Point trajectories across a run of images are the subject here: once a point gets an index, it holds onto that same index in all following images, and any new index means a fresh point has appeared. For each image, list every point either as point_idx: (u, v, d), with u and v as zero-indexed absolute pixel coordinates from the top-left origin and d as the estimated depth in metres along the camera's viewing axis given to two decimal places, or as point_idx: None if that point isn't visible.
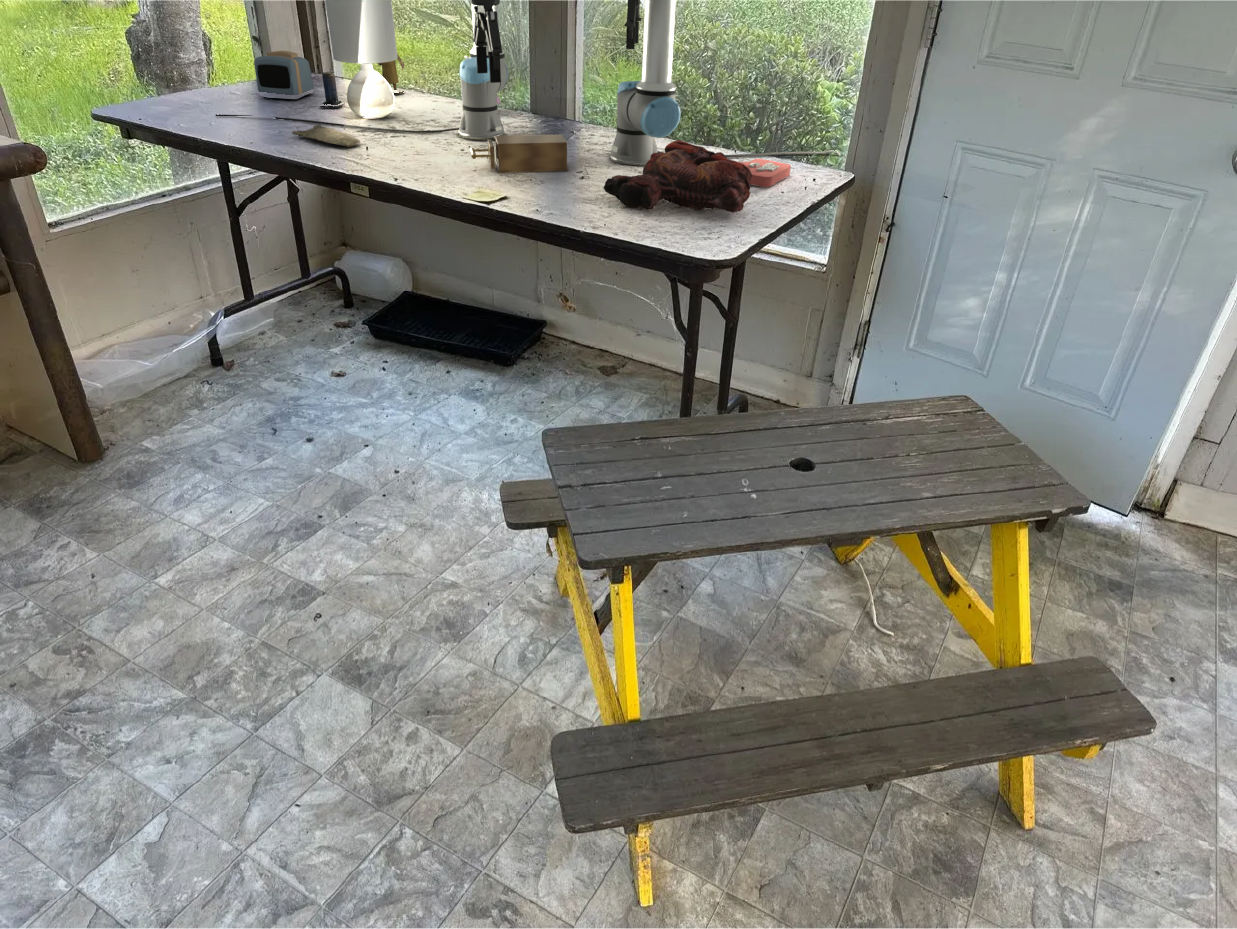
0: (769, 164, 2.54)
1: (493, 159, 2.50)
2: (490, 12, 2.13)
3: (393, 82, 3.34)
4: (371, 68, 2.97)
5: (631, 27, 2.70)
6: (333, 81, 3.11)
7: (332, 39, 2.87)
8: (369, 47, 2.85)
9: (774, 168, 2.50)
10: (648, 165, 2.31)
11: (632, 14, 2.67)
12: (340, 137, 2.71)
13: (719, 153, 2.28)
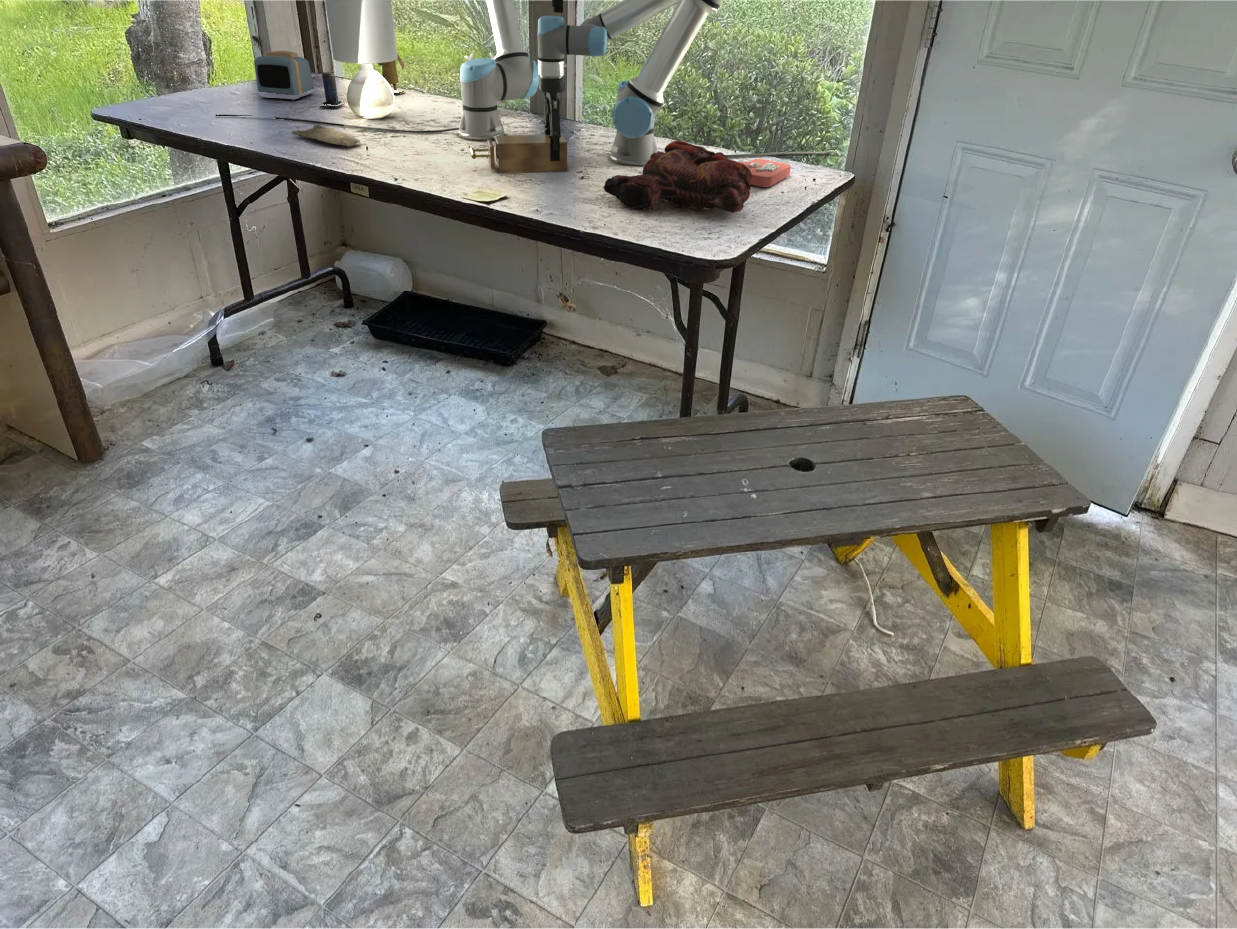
0: (769, 164, 2.54)
1: (493, 159, 2.50)
2: None
3: (393, 82, 3.34)
4: (371, 68, 2.97)
5: None
6: (333, 81, 3.11)
7: (332, 39, 2.87)
8: (369, 47, 2.85)
9: (774, 168, 2.50)
10: (648, 165, 2.31)
11: None
12: (340, 137, 2.71)
13: (719, 153, 2.28)
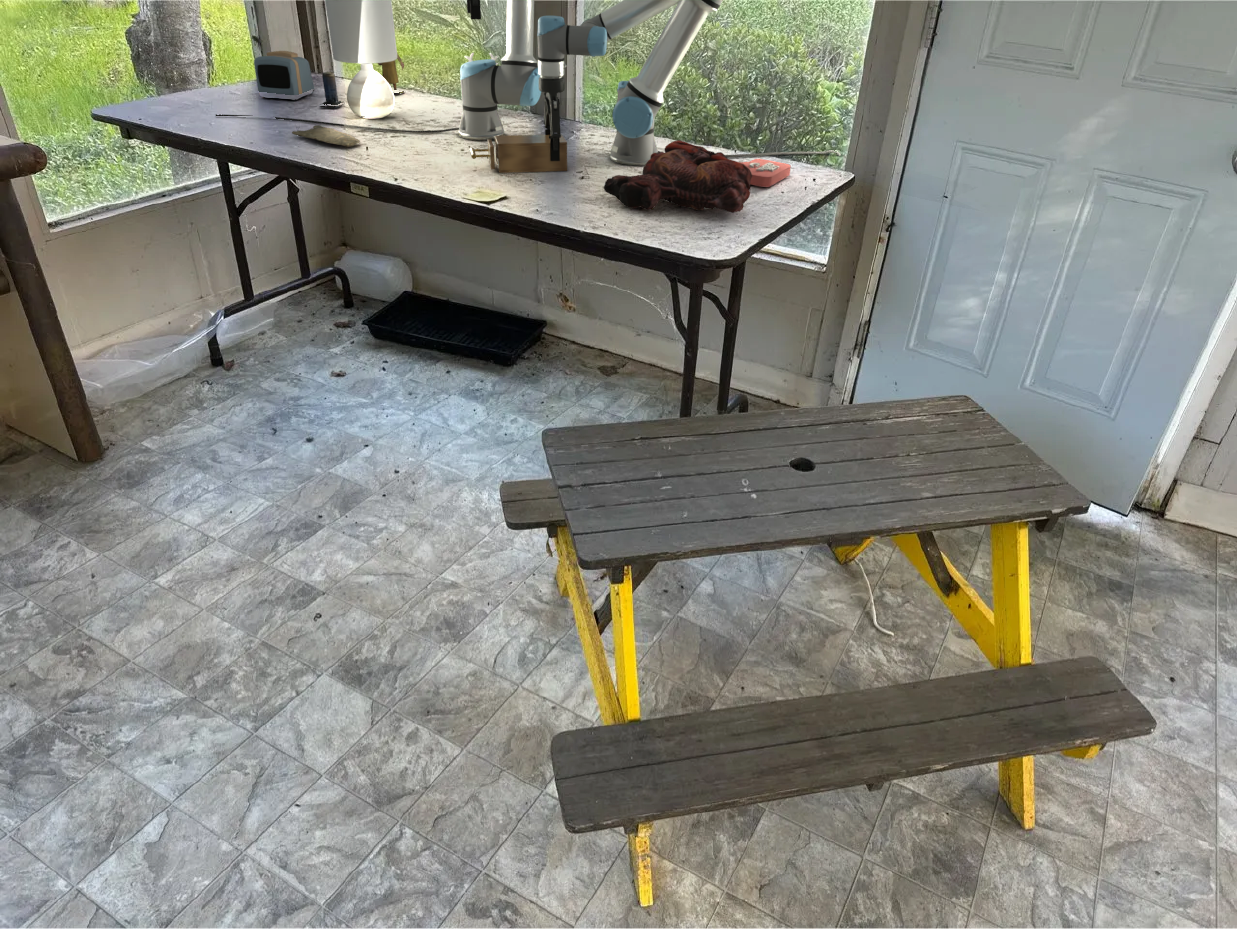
0: (769, 164, 2.54)
1: (493, 159, 2.50)
2: None
3: (393, 82, 3.34)
4: (371, 68, 2.97)
5: None
6: (333, 81, 3.11)
7: (332, 39, 2.87)
8: (369, 47, 2.85)
9: (774, 168, 2.50)
10: (648, 165, 2.31)
11: None
12: (340, 137, 2.71)
13: (719, 153, 2.28)
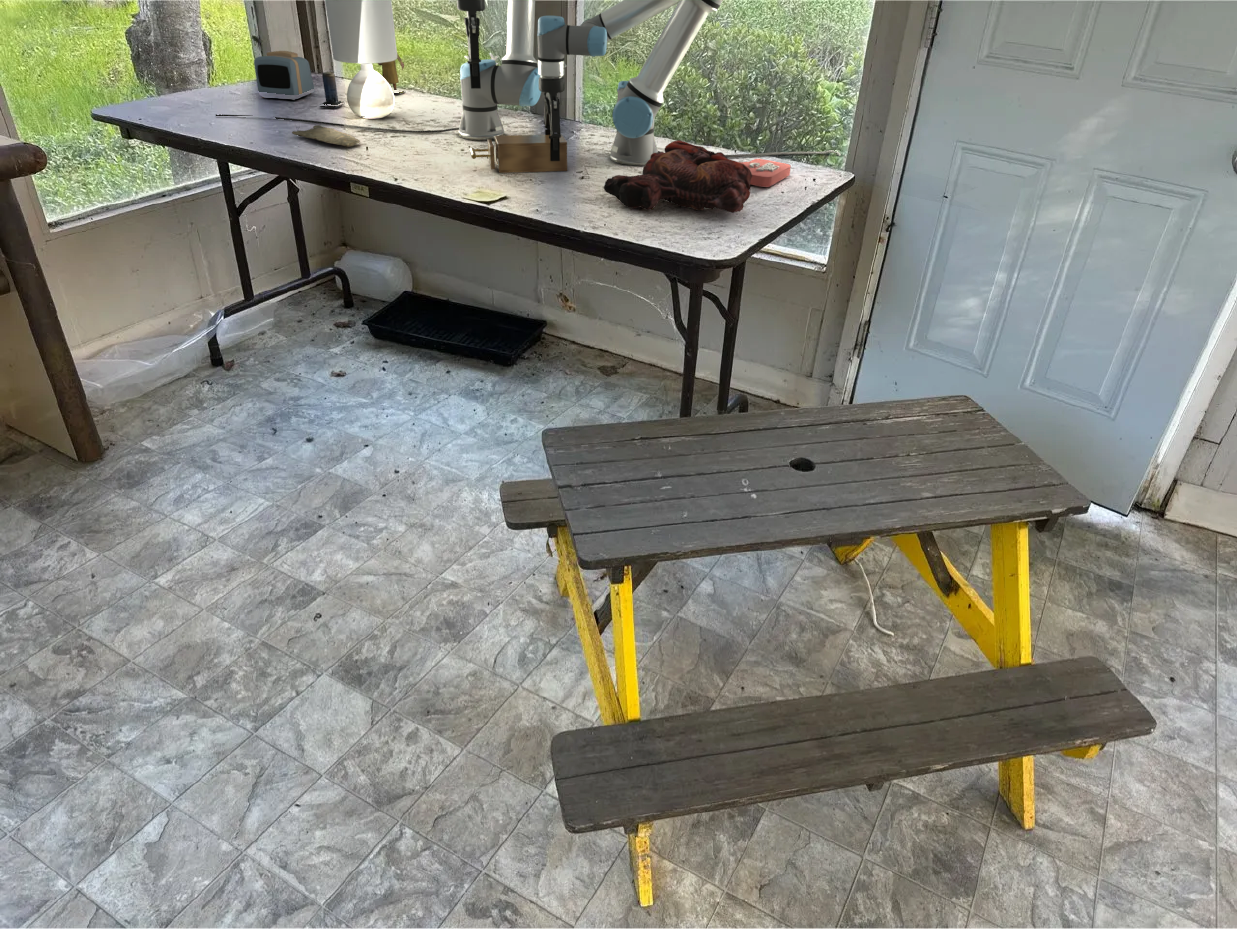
0: (769, 164, 2.54)
1: (493, 159, 2.50)
2: None
3: (393, 82, 3.34)
4: (371, 68, 2.97)
5: (476, 64, 2.37)
6: (333, 81, 3.11)
7: (332, 39, 2.87)
8: (369, 47, 2.85)
9: (774, 168, 2.50)
10: (648, 165, 2.31)
11: (476, 51, 2.33)
12: (340, 137, 2.71)
13: (719, 153, 2.28)
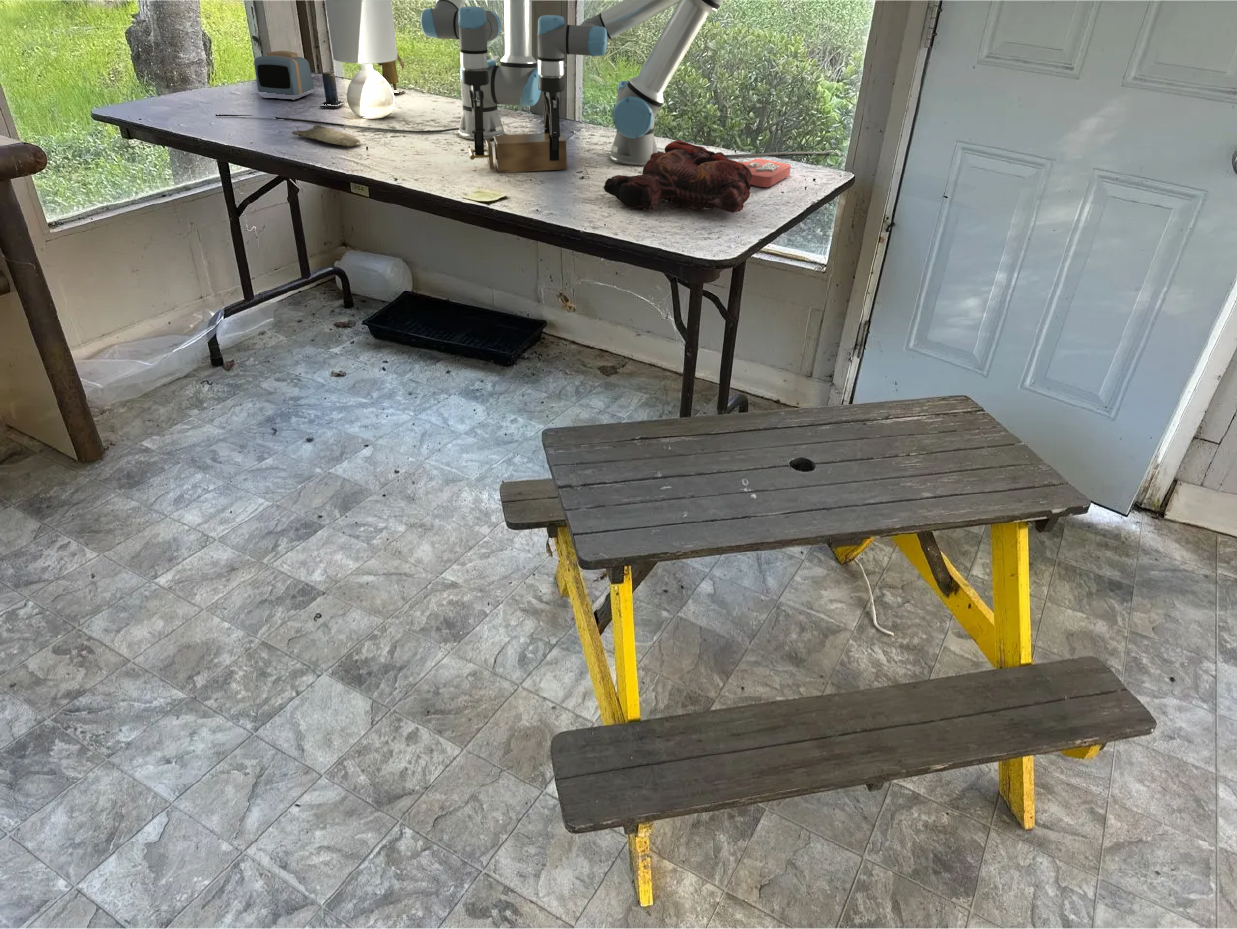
0: (769, 164, 2.54)
1: (492, 159, 2.50)
2: None
3: (393, 82, 3.34)
4: (371, 68, 2.97)
5: (480, 134, 2.47)
6: (333, 81, 3.11)
7: (332, 39, 2.87)
8: (369, 47, 2.85)
9: (774, 168, 2.50)
10: (648, 165, 2.31)
11: (480, 122, 2.44)
12: (340, 137, 2.71)
13: (719, 153, 2.28)
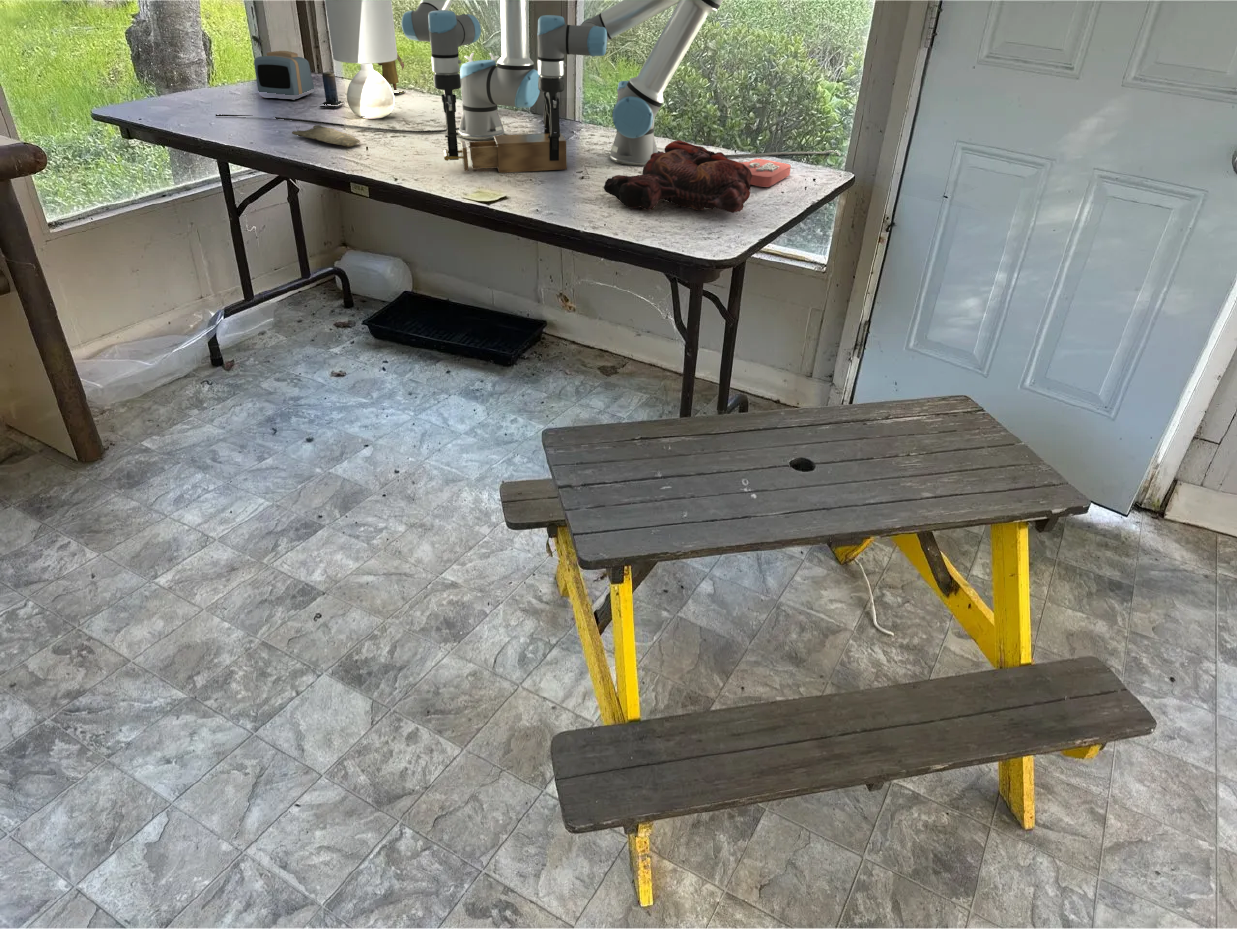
0: (769, 164, 2.54)
1: (466, 160, 2.49)
2: None
3: (393, 82, 3.34)
4: (371, 68, 2.97)
5: (453, 138, 2.47)
6: (333, 81, 3.11)
7: (332, 39, 2.87)
8: (369, 47, 2.85)
9: (774, 168, 2.50)
10: (648, 165, 2.31)
11: (453, 127, 2.43)
12: (340, 137, 2.71)
13: (719, 153, 2.28)
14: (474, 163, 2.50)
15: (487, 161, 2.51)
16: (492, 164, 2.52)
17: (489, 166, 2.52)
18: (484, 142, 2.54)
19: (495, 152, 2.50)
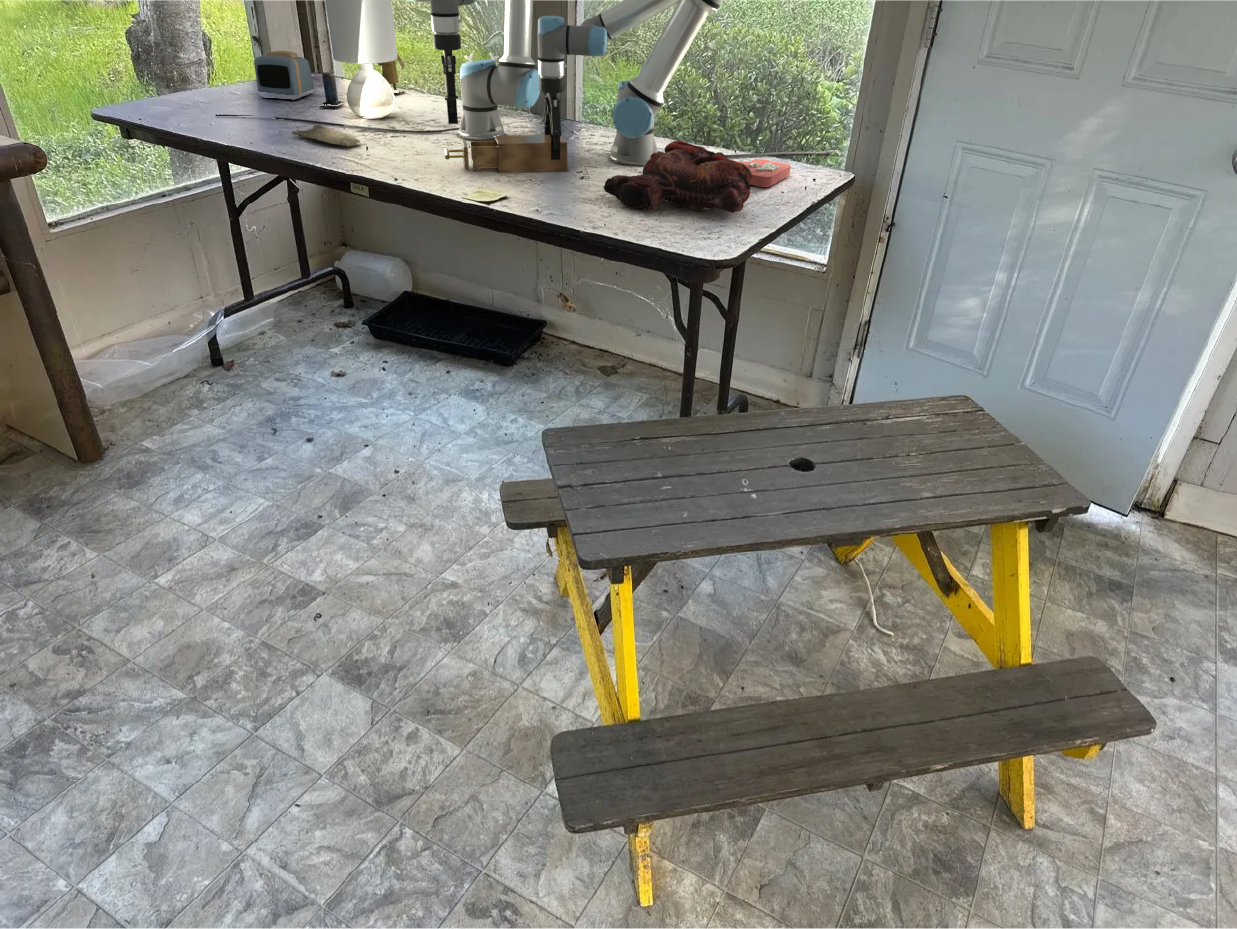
0: (769, 164, 2.54)
1: (467, 160, 2.49)
2: None
3: (393, 82, 3.34)
4: (371, 68, 2.97)
5: (452, 101, 2.41)
6: (333, 81, 3.11)
7: (332, 39, 2.87)
8: (369, 47, 2.85)
9: (774, 168, 2.50)
10: (648, 165, 2.31)
11: (453, 89, 2.37)
12: (340, 137, 2.71)
13: (719, 153, 2.28)
14: (475, 163, 2.50)
15: (488, 160, 2.51)
16: (493, 164, 2.52)
17: (490, 166, 2.52)
18: (485, 142, 2.54)
19: (496, 152, 2.50)
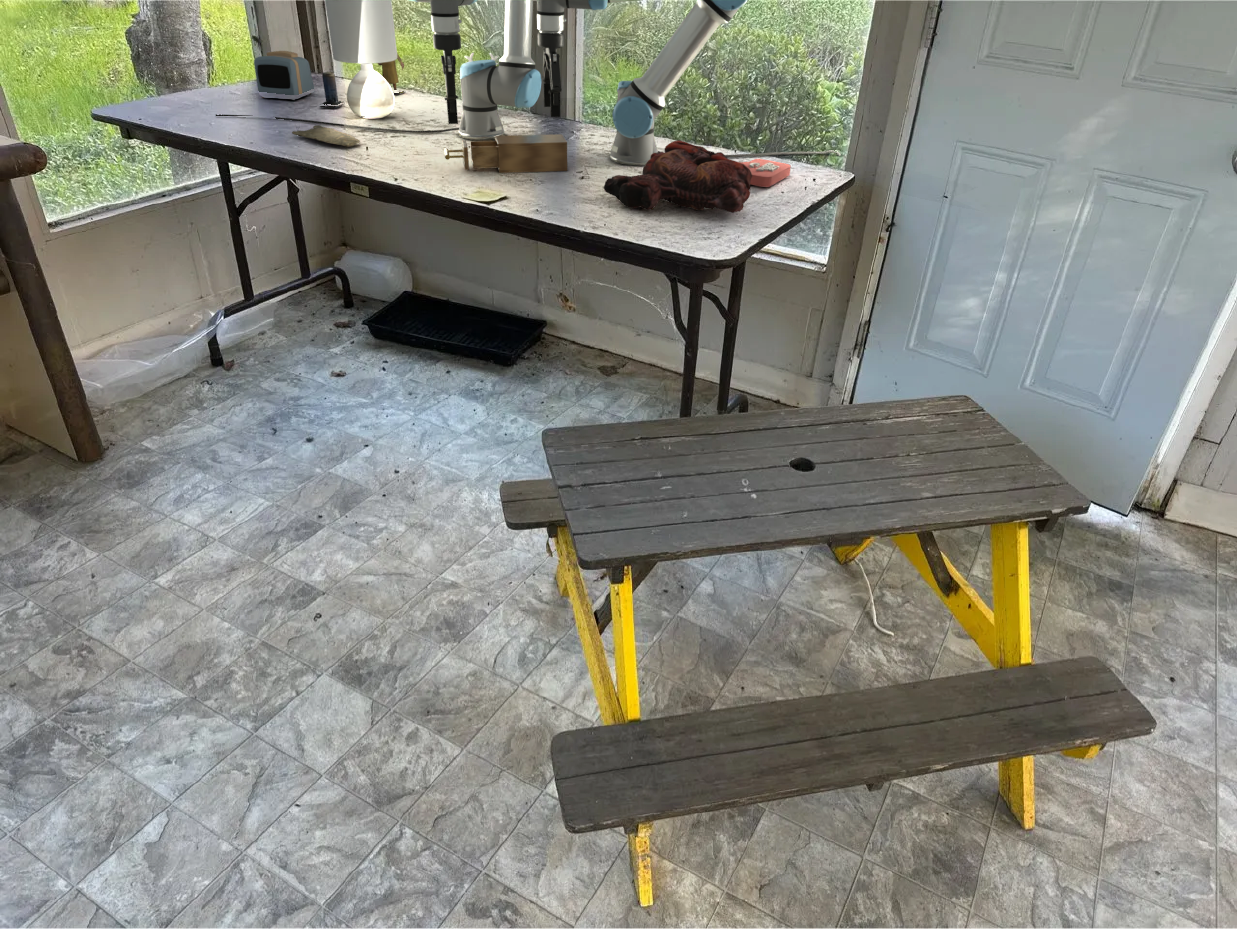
0: (769, 164, 2.54)
1: (467, 160, 2.49)
2: None
3: (393, 82, 3.34)
4: (371, 68, 2.97)
5: (452, 101, 2.41)
6: (333, 81, 3.11)
7: (332, 39, 2.87)
8: (369, 47, 2.85)
9: (774, 168, 2.50)
10: (648, 165, 2.31)
11: (453, 89, 2.37)
12: (340, 137, 2.71)
13: (719, 153, 2.28)
14: (475, 163, 2.50)
15: (488, 160, 2.51)
16: (493, 164, 2.52)
17: (490, 166, 2.52)
18: (485, 142, 2.54)
19: (496, 152, 2.50)
